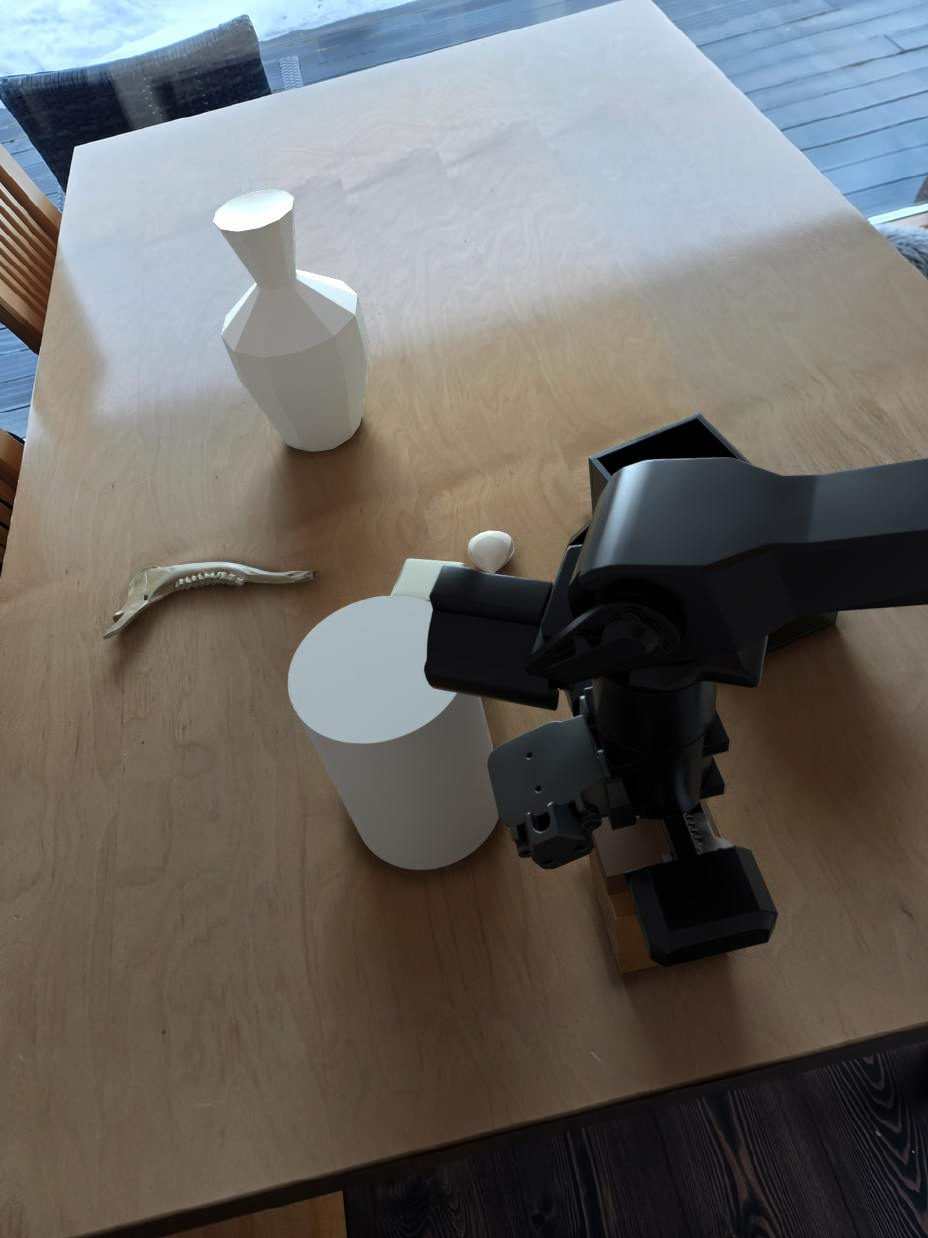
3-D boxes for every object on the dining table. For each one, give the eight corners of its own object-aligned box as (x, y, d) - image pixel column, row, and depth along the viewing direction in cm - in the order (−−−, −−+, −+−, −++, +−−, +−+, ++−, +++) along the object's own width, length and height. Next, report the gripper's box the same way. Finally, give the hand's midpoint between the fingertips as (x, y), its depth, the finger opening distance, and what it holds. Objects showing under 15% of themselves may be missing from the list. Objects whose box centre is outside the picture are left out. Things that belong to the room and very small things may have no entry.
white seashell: (515, 541, 88) (512, 522, 86) (516, 580, 84) (513, 561, 82) (470, 546, 88) (465, 527, 86) (470, 585, 85) (465, 566, 83)
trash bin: (836, 624, 76) (850, 559, 70) (715, 677, 74) (719, 616, 69) (696, 475, 89) (699, 412, 84) (592, 518, 88) (587, 456, 82)
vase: (319, 487, 97) (237, 266, 78) (240, 438, 105) (149, 226, 86) (415, 414, 103) (361, 191, 84) (334, 373, 110) (267, 160, 92)
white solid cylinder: (518, 745, 73) (487, 604, 60) (482, 882, 66) (439, 756, 53) (381, 726, 76) (325, 588, 64) (333, 855, 70) (259, 729, 57)
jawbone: (110, 590, 93) (101, 575, 91) (307, 528, 95) (301, 512, 93) (111, 651, 86) (101, 635, 85) (322, 583, 88) (316, 567, 87)
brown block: (699, 809, 57) (701, 788, 56) (723, 867, 55) (725, 848, 53) (589, 835, 57) (587, 816, 56) (608, 896, 55) (606, 877, 53)
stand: (688, 852, 65) (691, 788, 58) (724, 949, 61) (732, 891, 54) (591, 876, 65) (583, 814, 58) (620, 974, 61) (615, 920, 54)
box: (489, 650, 80) (469, 561, 71) (476, 691, 77) (453, 604, 69) (431, 643, 81) (405, 555, 73) (416, 682, 79) (388, 596, 70)
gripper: (455, 601, 50) (494, 753, 62) (534, 928, 38) (564, 1041, 50) (655, 551, 50) (656, 713, 62) (798, 863, 38) (766, 992, 50)
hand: (655, 849), depth 56 cm, fingers open, 7 cm apart
